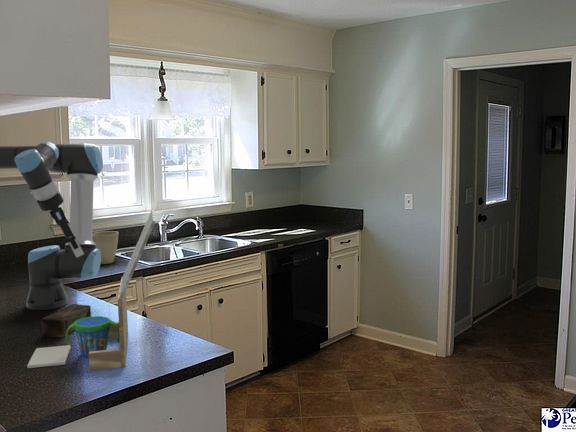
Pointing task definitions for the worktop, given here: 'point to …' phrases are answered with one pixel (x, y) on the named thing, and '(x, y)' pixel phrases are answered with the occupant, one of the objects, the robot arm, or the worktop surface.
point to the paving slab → (49, 356)
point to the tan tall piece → (122, 310)
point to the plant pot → (106, 245)
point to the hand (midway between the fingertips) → (76, 248)
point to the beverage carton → (63, 320)
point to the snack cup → (92, 333)
